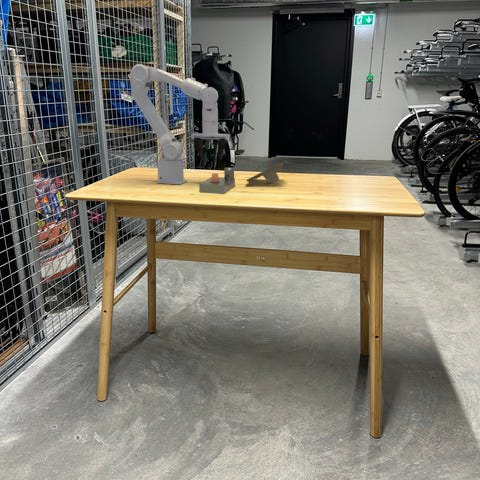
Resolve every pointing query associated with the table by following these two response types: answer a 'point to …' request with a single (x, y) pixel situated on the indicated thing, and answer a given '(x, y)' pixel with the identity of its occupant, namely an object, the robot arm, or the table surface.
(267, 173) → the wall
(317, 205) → the table surface
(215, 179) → the cylindrical pin
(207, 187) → the silver box with hole
